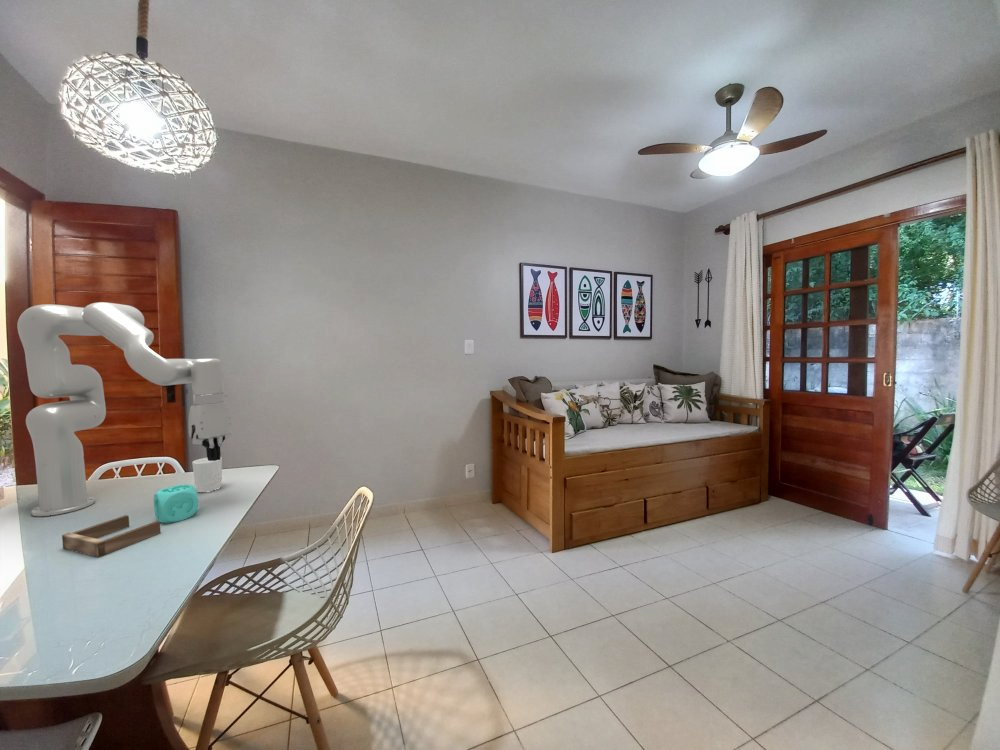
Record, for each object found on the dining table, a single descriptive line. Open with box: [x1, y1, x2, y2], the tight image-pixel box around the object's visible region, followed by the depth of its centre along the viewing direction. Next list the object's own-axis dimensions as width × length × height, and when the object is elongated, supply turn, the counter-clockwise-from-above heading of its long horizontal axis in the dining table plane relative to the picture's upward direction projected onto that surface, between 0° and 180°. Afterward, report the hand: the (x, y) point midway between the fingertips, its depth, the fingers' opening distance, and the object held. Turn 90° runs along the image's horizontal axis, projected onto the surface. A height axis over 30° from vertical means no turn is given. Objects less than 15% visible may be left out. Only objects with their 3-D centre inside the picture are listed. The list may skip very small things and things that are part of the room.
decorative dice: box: [153, 484, 199, 524], centre depth 109 cm, size 8×8×8 cm
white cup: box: [191, 456, 223, 493], centre depth 130 cm, size 8×8×10 cm
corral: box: [61, 514, 162, 558], centre depth 95 cm, size 13×12×3 cm
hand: (214, 459), depth 118 cm, fingers closed
